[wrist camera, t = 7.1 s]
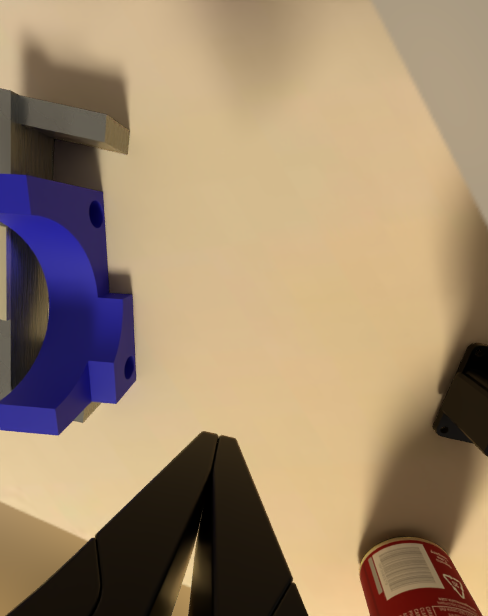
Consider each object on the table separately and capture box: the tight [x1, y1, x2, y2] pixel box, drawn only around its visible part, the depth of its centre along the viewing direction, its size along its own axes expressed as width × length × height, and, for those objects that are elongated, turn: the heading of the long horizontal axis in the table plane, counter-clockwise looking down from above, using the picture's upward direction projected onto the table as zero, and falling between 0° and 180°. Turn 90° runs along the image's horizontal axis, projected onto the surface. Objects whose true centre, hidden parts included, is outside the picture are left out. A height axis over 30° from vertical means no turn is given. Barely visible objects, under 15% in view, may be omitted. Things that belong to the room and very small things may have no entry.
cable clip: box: [0, 174, 136, 435], centre depth 16 cm, size 12×4×6 cm, turn 177°
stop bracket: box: [0, 88, 129, 423], centre depth 17 cm, size 5×17×3 cm, turn 168°
